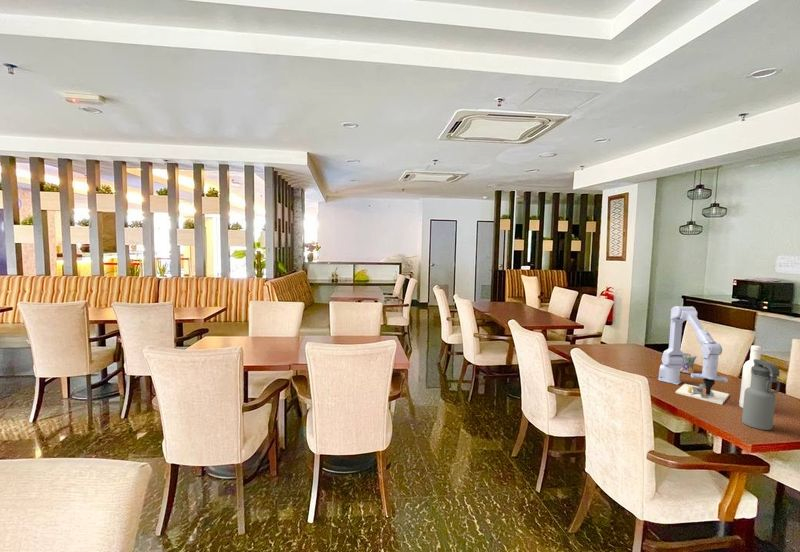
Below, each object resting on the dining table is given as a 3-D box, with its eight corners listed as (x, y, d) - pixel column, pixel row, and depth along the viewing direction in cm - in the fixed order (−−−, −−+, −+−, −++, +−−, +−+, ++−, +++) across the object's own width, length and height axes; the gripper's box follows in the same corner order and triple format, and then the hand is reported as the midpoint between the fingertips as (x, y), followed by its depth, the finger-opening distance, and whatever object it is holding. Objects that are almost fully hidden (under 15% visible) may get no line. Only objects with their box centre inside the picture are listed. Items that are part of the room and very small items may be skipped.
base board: (675, 393, 206) (676, 383, 205) (684, 385, 218) (685, 376, 217) (721, 404, 191) (722, 394, 191) (729, 395, 203) (729, 386, 203)
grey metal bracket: (692, 388, 210) (692, 380, 210) (711, 391, 206) (711, 383, 205) (694, 395, 199) (694, 387, 199) (714, 399, 195) (715, 391, 194)
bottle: (763, 413, 183) (770, 349, 181) (741, 409, 187) (747, 346, 184) (758, 406, 190) (764, 345, 187) (737, 403, 194) (743, 343, 191)
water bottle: (779, 430, 165) (786, 365, 163) (760, 432, 164) (767, 365, 161) (754, 419, 175) (760, 358, 173) (735, 421, 174) (741, 358, 171)
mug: (697, 375, 235) (699, 358, 234) (679, 373, 238) (681, 356, 237) (689, 369, 247) (691, 352, 246) (672, 367, 249) (674, 351, 249)
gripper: (694, 367, 196) (692, 394, 197) (731, 371, 190) (728, 399, 191) (690, 363, 202) (688, 389, 203) (725, 367, 197) (723, 394, 198)
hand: (707, 393), depth 198 cm, fingers closed, pressing on grey metal bracket
